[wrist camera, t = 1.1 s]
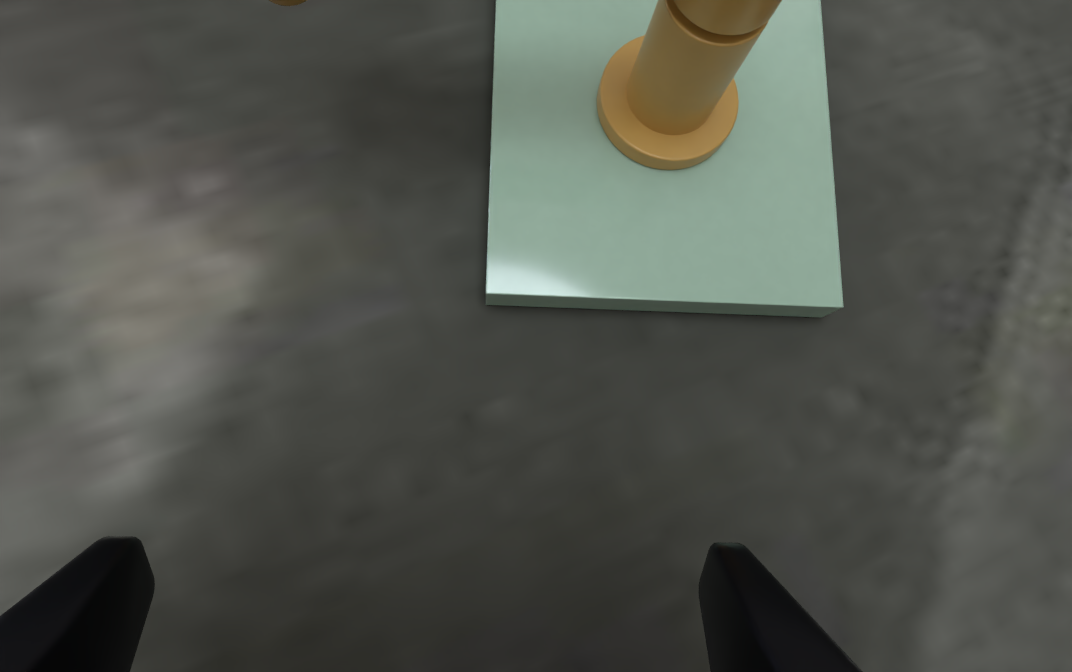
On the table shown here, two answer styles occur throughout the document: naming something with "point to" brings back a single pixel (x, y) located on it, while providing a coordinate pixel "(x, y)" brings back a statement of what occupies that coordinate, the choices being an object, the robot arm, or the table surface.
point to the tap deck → (658, 176)
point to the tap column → (672, 91)
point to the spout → (704, 13)
